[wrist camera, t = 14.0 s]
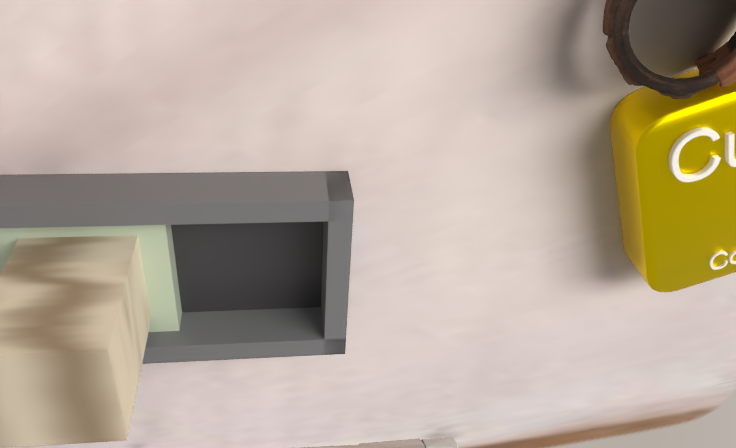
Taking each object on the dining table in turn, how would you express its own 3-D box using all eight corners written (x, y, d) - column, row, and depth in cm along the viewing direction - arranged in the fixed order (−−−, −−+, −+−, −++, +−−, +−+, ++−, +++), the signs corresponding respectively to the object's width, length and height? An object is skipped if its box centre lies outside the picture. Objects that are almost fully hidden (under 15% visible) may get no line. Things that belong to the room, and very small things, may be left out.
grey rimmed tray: (-130, 339, 46) (-155, 378, 44) (-209, 177, 39) (-246, 210, 36) (340, 320, 51) (344, 353, 48) (347, 171, 44) (353, 200, 41)
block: (42, 323, 45) (-7, 448, 37) (18, 237, 41) (-42, 357, 33) (151, 318, 46) (126, 440, 38) (137, 235, 42) (107, 350, 34)
